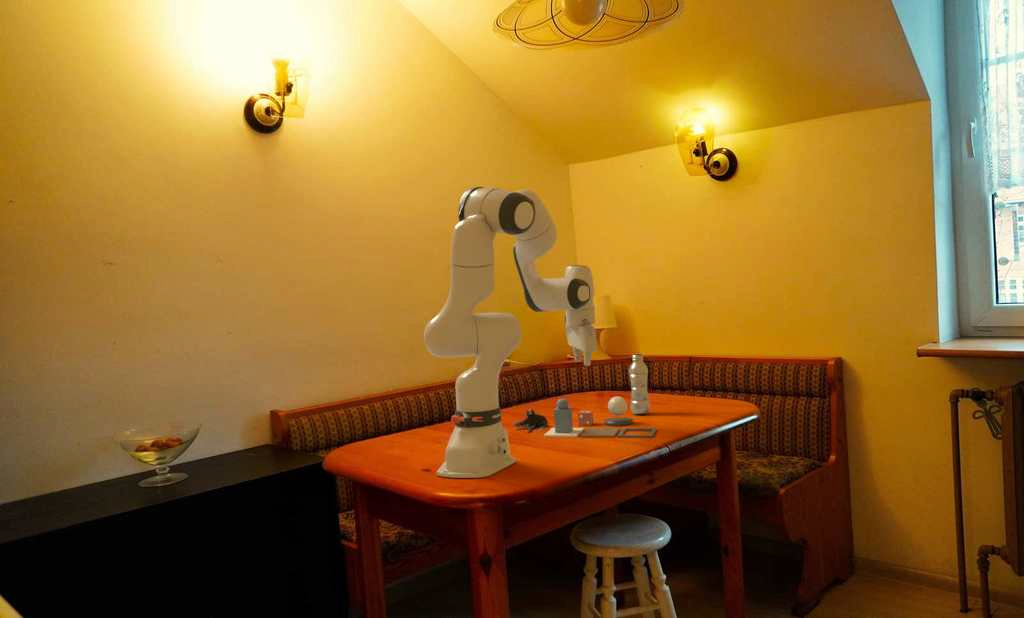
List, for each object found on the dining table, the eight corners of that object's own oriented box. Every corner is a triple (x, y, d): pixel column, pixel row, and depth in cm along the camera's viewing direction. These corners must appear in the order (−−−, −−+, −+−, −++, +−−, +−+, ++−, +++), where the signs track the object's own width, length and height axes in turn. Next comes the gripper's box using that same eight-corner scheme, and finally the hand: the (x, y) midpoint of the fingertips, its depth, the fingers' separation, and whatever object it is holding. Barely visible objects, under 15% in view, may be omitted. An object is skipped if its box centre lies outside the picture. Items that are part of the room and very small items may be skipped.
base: (630, 426, 221) (630, 423, 221) (601, 426, 223) (601, 422, 223) (634, 420, 229) (634, 417, 229) (607, 420, 232) (606, 417, 232)
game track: (652, 437, 203) (652, 435, 203) (544, 436, 213) (544, 434, 213) (656, 430, 213) (656, 428, 213) (552, 429, 223) (552, 427, 223)
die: (591, 425, 225) (590, 412, 225) (578, 425, 226) (577, 412, 226) (593, 423, 229) (592, 410, 229) (581, 423, 230) (580, 410, 230)
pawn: (569, 433, 214) (567, 399, 213) (555, 432, 215) (553, 399, 215) (572, 429, 218) (571, 396, 217) (558, 429, 219) (557, 397, 219)
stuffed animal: (537, 418, 238) (549, 402, 228) (545, 445, 233) (557, 430, 223) (504, 422, 233) (515, 406, 224) (512, 450, 228) (523, 435, 219)
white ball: (626, 417, 222) (625, 398, 222) (607, 417, 224) (605, 398, 224) (629, 413, 228) (627, 394, 228) (610, 413, 230) (609, 395, 230)
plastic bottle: (629, 416, 237) (626, 356, 236) (632, 412, 243) (629, 353, 243) (649, 416, 235) (646, 355, 234) (651, 412, 241) (648, 353, 241)
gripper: (601, 320, 208) (603, 367, 209) (581, 315, 228) (583, 358, 229) (580, 321, 207) (582, 369, 208) (562, 317, 227) (564, 360, 228)
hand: (582, 363), depth 219 cm, fingers open, 8 cm apart
